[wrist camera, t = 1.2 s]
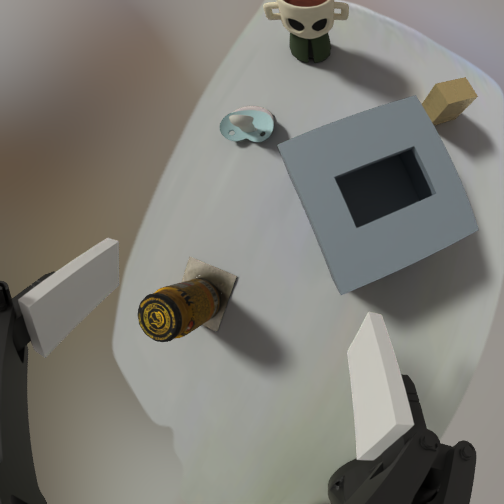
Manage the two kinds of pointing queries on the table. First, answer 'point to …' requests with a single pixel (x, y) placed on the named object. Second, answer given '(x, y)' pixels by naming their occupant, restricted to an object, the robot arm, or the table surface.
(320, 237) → the box
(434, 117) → the gold brushed block
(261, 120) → the pacifier
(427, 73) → the table surface
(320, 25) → the character mug
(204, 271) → the condiment
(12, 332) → the robot arm
